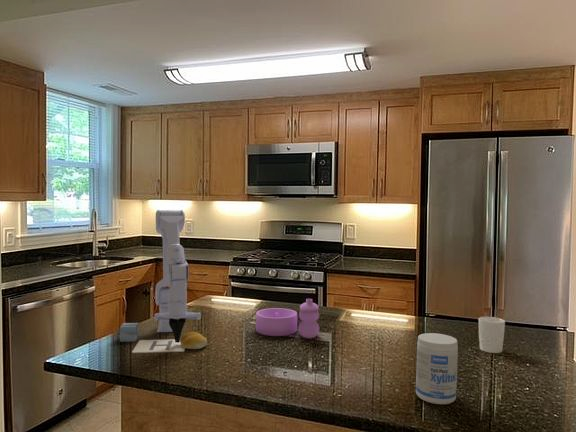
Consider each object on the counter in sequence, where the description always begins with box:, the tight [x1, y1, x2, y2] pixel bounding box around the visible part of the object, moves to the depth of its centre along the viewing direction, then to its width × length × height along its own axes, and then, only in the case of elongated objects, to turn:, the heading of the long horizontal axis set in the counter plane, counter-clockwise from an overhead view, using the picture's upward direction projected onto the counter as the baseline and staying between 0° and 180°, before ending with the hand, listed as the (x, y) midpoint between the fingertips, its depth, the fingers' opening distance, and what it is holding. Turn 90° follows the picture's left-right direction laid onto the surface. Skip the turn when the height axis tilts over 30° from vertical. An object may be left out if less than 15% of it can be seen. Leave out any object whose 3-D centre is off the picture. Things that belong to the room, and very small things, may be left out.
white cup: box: [478, 316, 506, 354], centre depth 146 cm, size 8×8×10 cm
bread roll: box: [180, 331, 208, 350], centre depth 146 cm, size 8×9×4 cm
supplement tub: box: [415, 332, 459, 405], centre depth 110 cm, size 10×10×15 cm
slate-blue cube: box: [119, 322, 139, 343], centre depth 153 cm, size 5×5×5 cm
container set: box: [255, 298, 320, 339], centre depth 163 cm, size 25×15×13 cm, turn 59°
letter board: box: [131, 338, 186, 354], centre depth 146 cm, size 12×16×1 cm
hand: (177, 341), depth 146 cm, fingers closed
